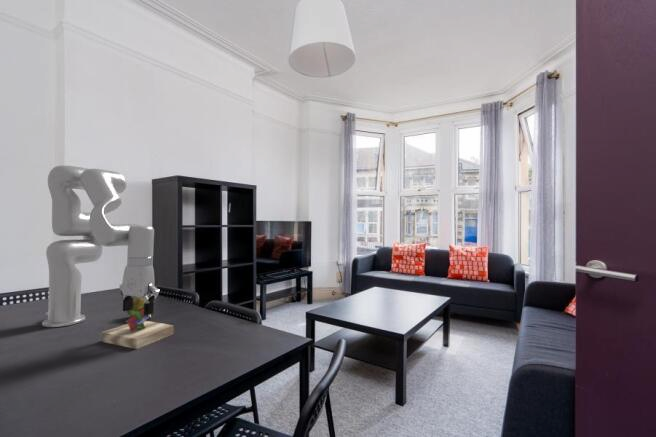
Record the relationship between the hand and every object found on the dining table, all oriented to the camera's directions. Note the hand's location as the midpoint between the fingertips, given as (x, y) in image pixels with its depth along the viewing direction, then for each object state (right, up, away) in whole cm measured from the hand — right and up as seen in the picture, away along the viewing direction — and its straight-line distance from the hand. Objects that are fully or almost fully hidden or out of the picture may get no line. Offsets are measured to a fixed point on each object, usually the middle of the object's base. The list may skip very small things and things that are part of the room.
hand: (137, 312), depth 105 cm
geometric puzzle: (0, -6, 0) cm, 6 cm away
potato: (-11, -9, +20) cm, 24 cm away
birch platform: (0, -9, 0) cm, 9 cm away
